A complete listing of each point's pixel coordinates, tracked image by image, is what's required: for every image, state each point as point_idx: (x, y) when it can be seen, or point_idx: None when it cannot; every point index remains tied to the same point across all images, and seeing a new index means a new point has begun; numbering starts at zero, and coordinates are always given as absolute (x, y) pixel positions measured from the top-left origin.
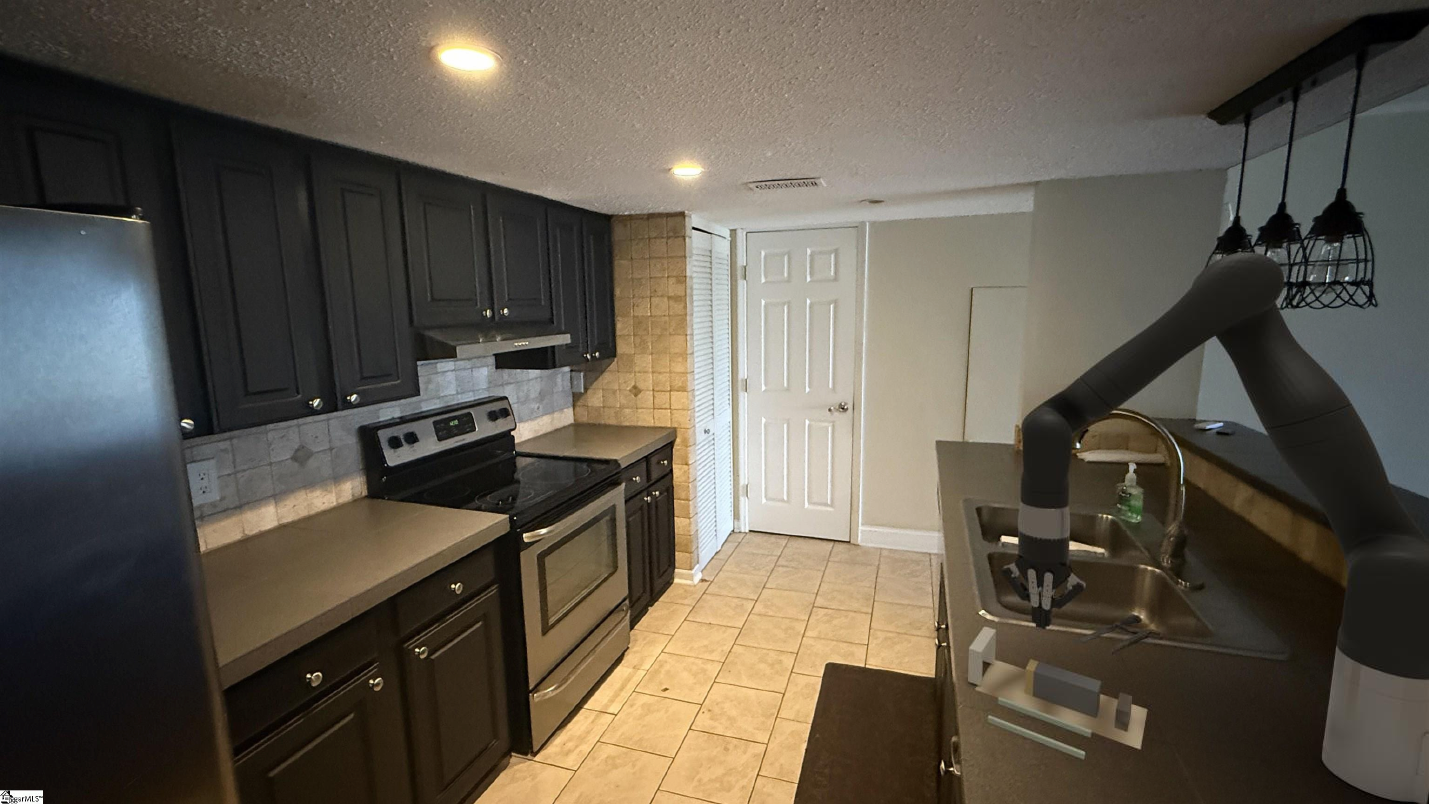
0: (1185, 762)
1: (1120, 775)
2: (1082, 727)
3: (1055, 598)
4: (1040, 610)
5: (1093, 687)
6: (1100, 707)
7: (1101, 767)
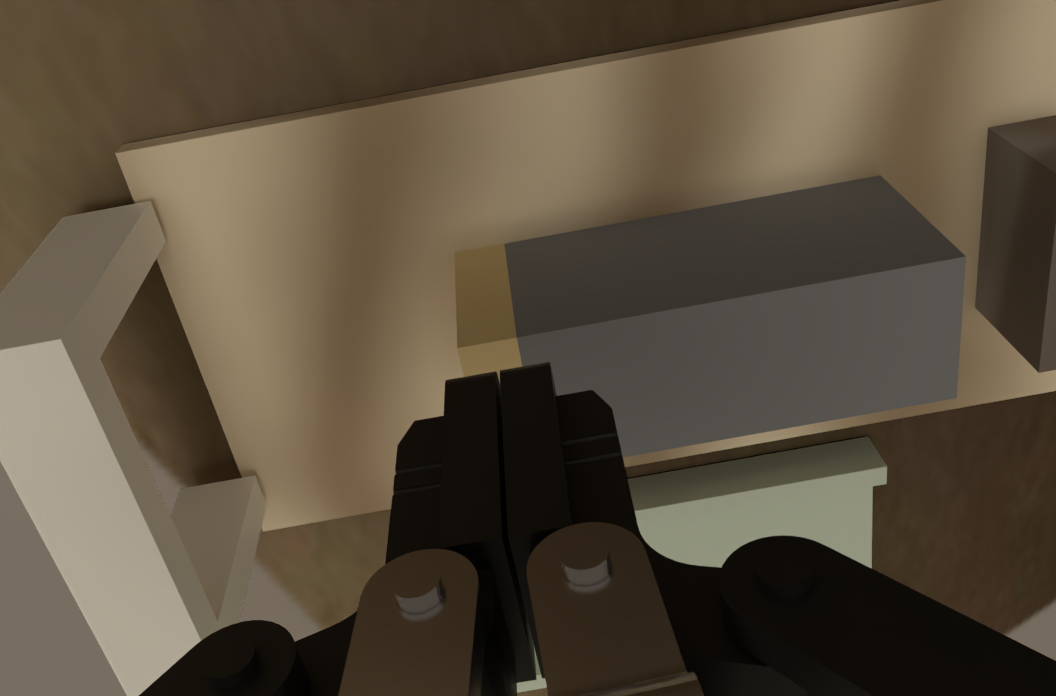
0: None
1: (1004, 557)
2: (845, 478)
3: (726, 686)
4: (533, 648)
5: (925, 367)
6: (886, 174)
7: (932, 567)
